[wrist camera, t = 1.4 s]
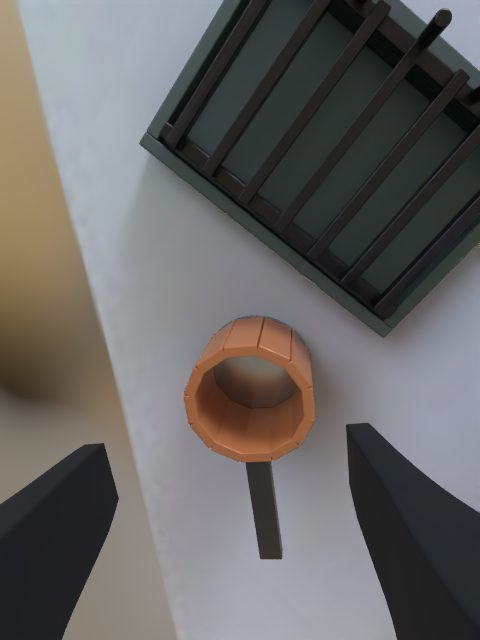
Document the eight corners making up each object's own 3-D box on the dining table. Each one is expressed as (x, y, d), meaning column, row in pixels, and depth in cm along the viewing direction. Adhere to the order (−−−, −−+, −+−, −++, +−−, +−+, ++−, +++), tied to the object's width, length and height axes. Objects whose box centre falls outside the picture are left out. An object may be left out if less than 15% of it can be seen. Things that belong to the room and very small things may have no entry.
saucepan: (198, 320, 21) (174, 351, 17) (306, 310, 20) (308, 340, 16) (229, 499, 24) (215, 562, 20) (323, 497, 23) (329, 563, 19)
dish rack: (546, 154, 17) (640, 139, 12) (377, 328, 20) (401, 368, 15) (285, -77, 16) (281, -188, 11) (150, 147, 19) (103, 132, 14)
